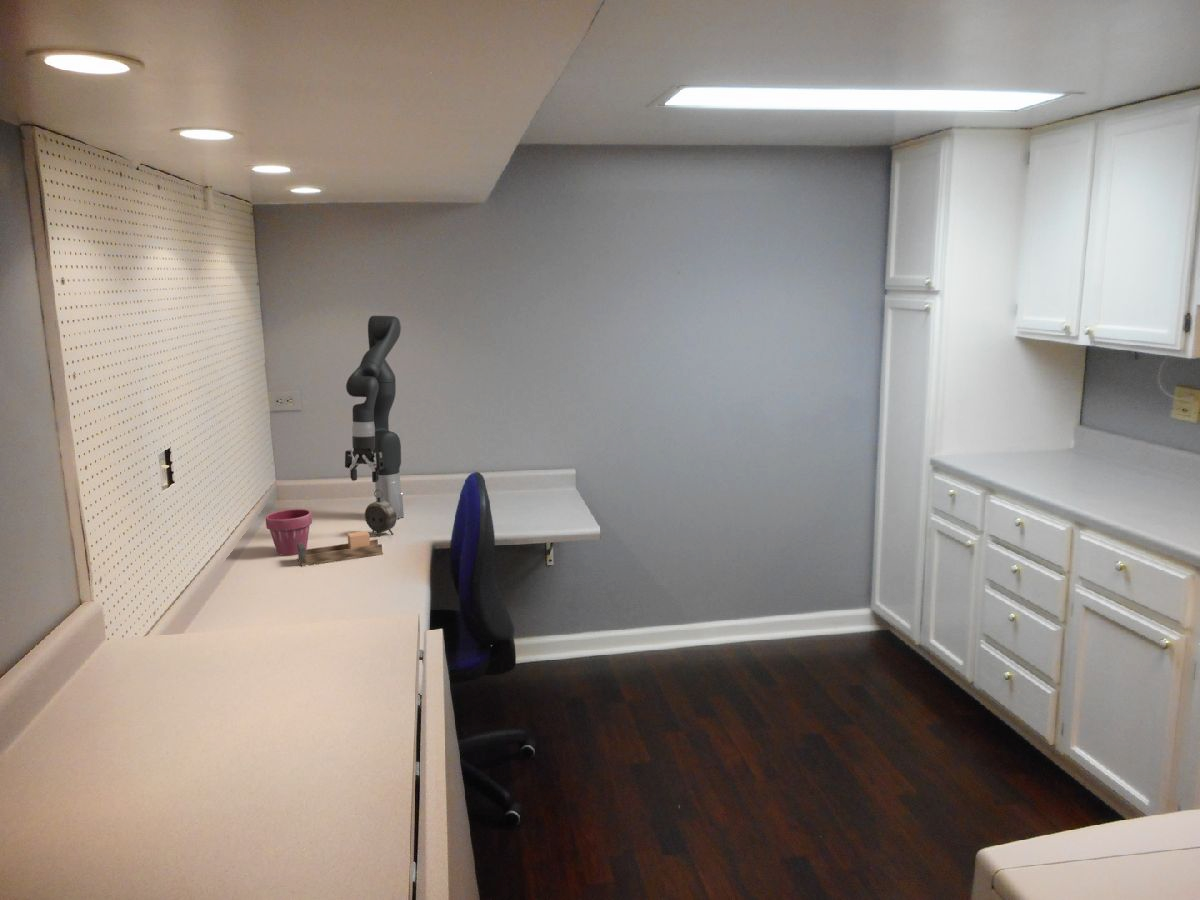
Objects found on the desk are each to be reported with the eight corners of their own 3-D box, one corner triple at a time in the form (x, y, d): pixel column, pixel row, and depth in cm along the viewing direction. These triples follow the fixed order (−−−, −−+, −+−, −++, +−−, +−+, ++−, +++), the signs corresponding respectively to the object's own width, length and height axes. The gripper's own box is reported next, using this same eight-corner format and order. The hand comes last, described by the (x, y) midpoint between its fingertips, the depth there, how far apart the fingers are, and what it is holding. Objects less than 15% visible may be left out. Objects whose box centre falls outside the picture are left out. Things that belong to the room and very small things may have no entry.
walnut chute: (377, 547, 285) (376, 531, 284) (383, 554, 277) (381, 538, 276) (298, 558, 274) (296, 542, 273) (302, 566, 266) (300, 549, 265)
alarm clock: (398, 534, 301) (395, 488, 298) (388, 538, 296) (385, 492, 293) (373, 531, 305) (370, 486, 302) (363, 535, 300) (360, 489, 297)
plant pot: (259, 555, 278) (255, 517, 276) (289, 544, 291) (286, 507, 289) (294, 559, 273) (290, 521, 271) (323, 547, 286) (320, 510, 284)
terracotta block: (367, 548, 281) (366, 530, 280) (370, 552, 277) (369, 534, 276) (348, 551, 279) (347, 533, 278) (351, 555, 274) (350, 537, 273)
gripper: (387, 434, 295) (388, 481, 297) (353, 432, 300) (354, 478, 302) (374, 436, 288) (375, 484, 290) (339, 434, 293) (340, 481, 295)
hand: (364, 481), depth 296 cm, fingers open, 8 cm apart
